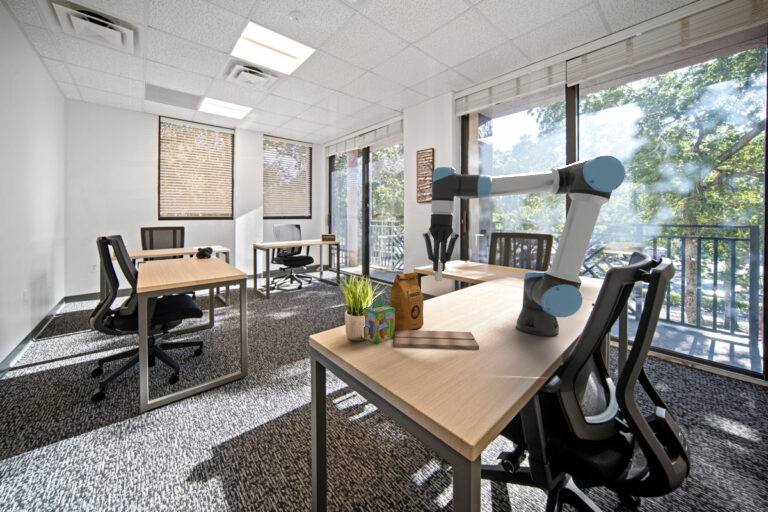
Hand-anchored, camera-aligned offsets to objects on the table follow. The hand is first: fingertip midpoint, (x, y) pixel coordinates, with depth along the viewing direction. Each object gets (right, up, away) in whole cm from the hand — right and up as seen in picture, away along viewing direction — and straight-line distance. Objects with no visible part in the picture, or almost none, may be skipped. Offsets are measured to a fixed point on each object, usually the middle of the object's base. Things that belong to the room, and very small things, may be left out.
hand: (438, 280), depth 113 cm
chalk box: (-22, -21, +2) cm, 30 cm away
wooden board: (-2, -22, -2) cm, 22 cm away
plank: (-1, -21, +2) cm, 21 cm away
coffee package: (-10, -20, +11) cm, 25 cm away
